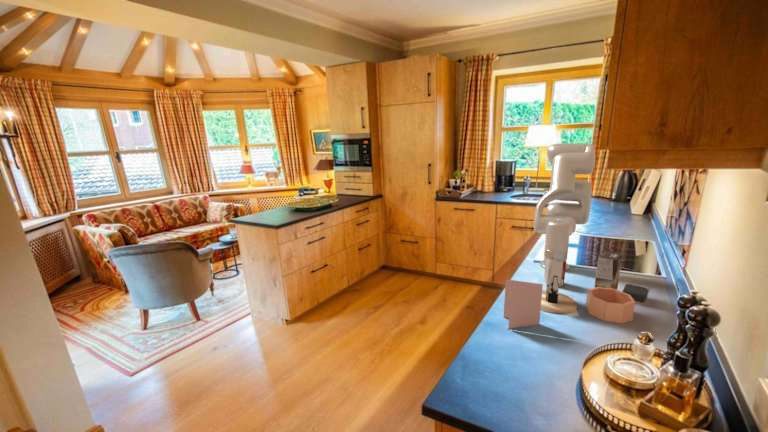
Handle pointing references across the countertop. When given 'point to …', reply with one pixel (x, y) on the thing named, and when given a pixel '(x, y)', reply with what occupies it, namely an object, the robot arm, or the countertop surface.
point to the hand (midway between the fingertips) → (551, 298)
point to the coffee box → (608, 270)
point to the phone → (636, 292)
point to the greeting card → (522, 303)
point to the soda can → (563, 274)
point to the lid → (562, 306)
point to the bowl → (610, 304)
